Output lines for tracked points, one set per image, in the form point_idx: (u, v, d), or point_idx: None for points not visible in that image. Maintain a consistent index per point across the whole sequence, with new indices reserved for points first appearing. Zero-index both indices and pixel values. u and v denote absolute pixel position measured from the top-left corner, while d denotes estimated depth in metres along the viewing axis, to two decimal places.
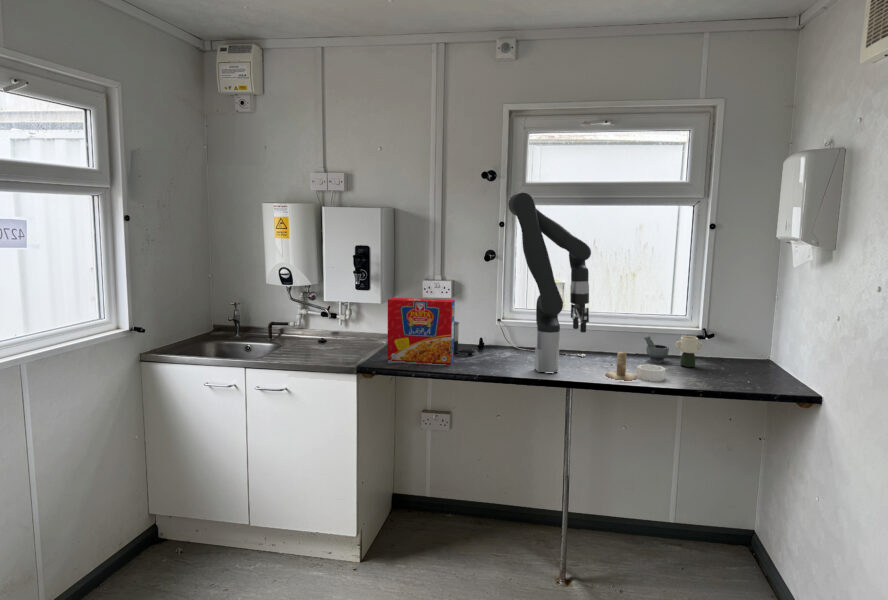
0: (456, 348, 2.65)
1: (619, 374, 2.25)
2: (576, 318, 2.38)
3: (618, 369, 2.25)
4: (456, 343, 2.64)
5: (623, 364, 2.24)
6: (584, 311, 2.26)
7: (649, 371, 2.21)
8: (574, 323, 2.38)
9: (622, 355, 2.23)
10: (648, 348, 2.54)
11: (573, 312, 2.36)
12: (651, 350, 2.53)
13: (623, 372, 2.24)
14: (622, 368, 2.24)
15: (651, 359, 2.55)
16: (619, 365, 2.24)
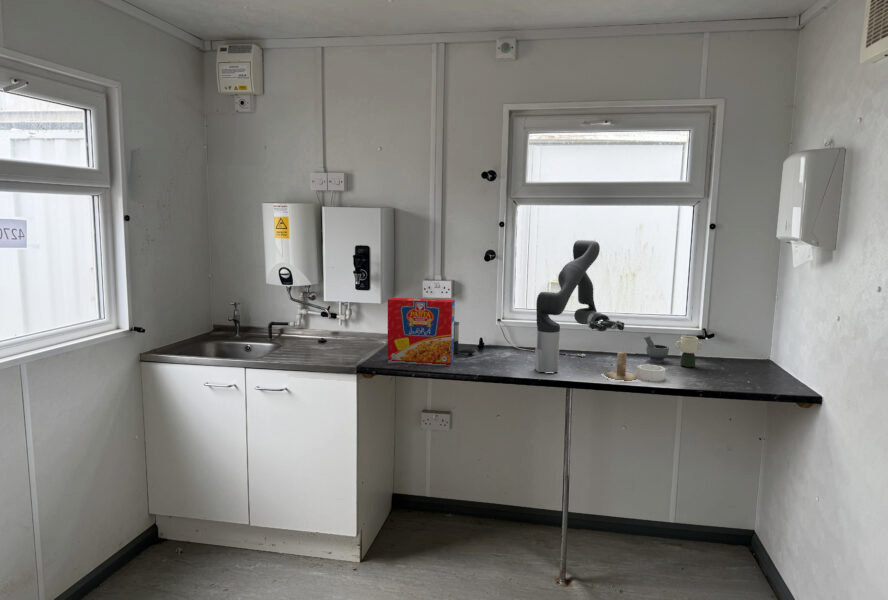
0: (456, 348, 2.65)
1: (619, 374, 2.24)
2: None
3: (618, 369, 2.25)
4: (456, 343, 2.64)
5: (623, 364, 2.24)
6: None
7: (649, 371, 2.21)
8: None
9: (622, 355, 2.23)
10: (648, 348, 2.54)
11: (600, 321, 2.42)
12: (651, 350, 2.53)
13: (623, 372, 2.24)
14: (622, 368, 2.24)
15: (651, 359, 2.55)
16: (619, 365, 2.24)
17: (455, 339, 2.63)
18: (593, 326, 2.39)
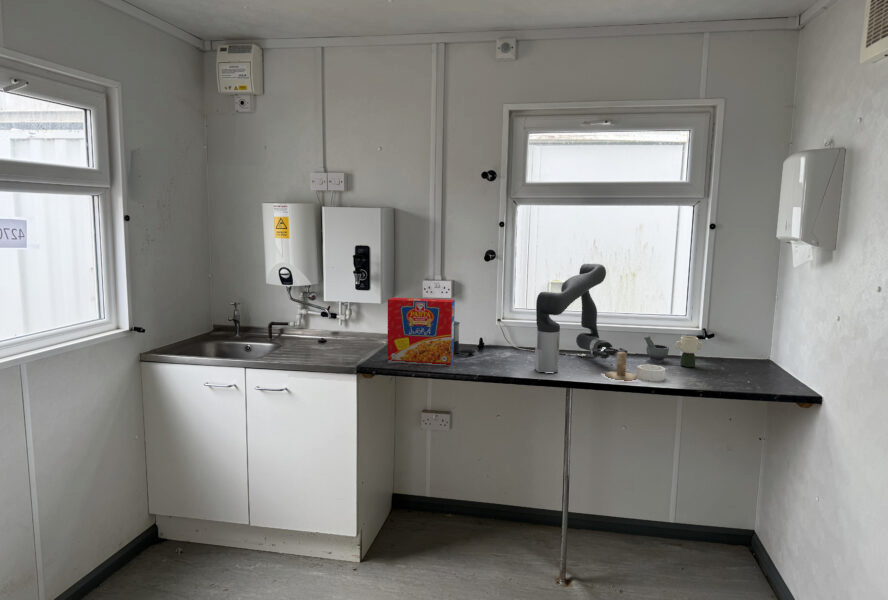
0: (457, 348, 2.65)
1: (619, 374, 2.25)
2: None
3: (618, 369, 2.25)
4: (457, 343, 2.64)
5: (623, 364, 2.24)
6: None
7: (649, 371, 2.21)
8: None
9: (622, 355, 2.23)
10: (648, 348, 2.54)
11: (603, 348, 2.38)
12: (651, 350, 2.53)
13: (623, 372, 2.24)
14: (622, 368, 2.24)
15: (651, 359, 2.55)
16: (619, 365, 2.24)
17: (455, 339, 2.63)
18: (596, 354, 2.35)
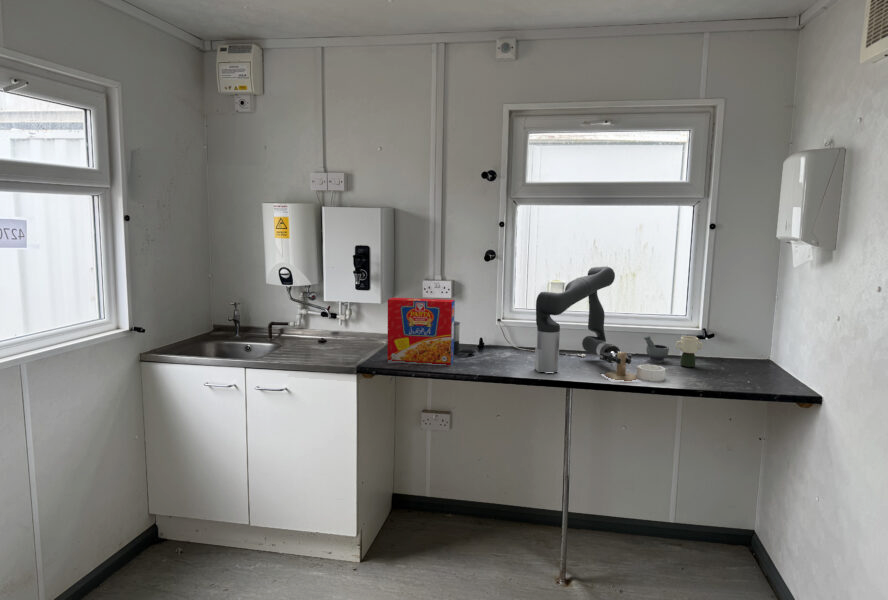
0: (457, 348, 2.65)
1: (619, 374, 2.25)
2: None
3: (618, 369, 2.25)
4: (457, 343, 2.64)
5: (623, 364, 2.24)
6: None
7: (649, 371, 2.21)
8: None
9: (622, 355, 2.23)
10: (648, 348, 2.54)
11: (612, 353, 2.30)
12: (651, 350, 2.53)
13: (623, 372, 2.24)
14: (622, 368, 2.24)
15: (651, 359, 2.55)
16: (619, 365, 2.24)
17: (456, 339, 2.63)
18: (609, 359, 2.26)
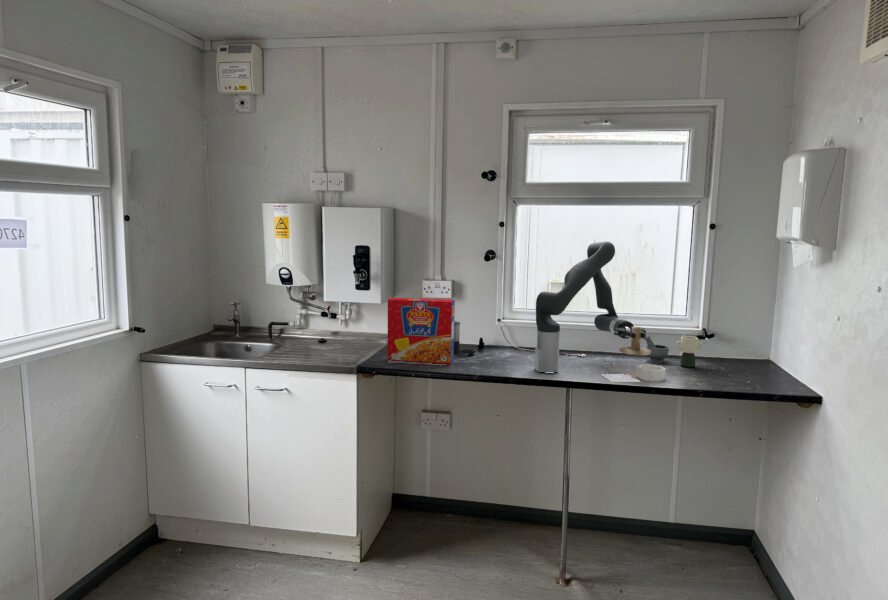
0: (457, 348, 2.65)
1: (634, 349, 2.24)
2: None
3: (633, 344, 2.24)
4: (457, 343, 2.64)
5: (638, 339, 2.23)
6: None
7: (649, 371, 2.21)
8: None
9: (637, 329, 2.22)
10: (648, 348, 2.54)
11: (627, 328, 2.29)
12: (651, 350, 2.53)
13: (638, 347, 2.23)
14: (637, 343, 2.23)
15: (651, 359, 2.55)
16: (634, 340, 2.23)
17: (456, 339, 2.63)
18: (624, 334, 2.25)
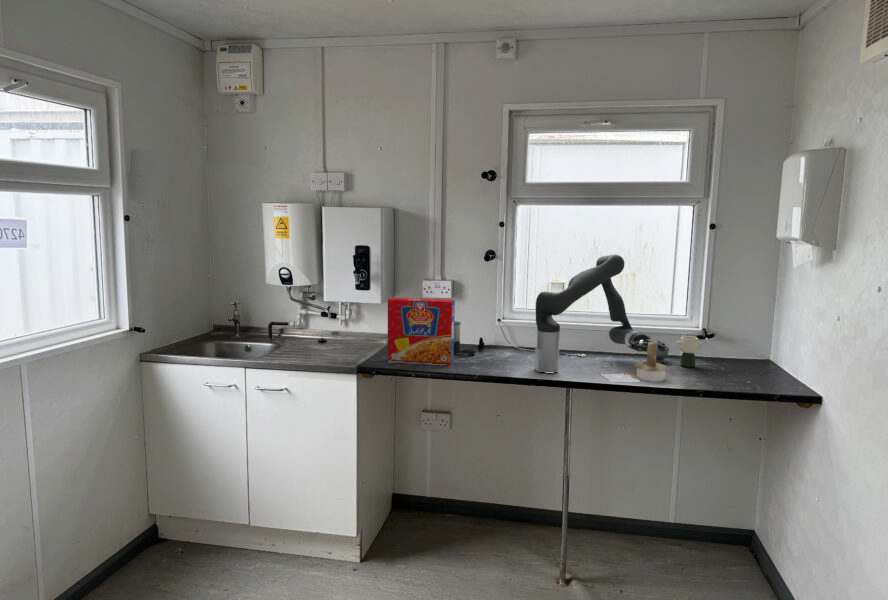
0: (458, 348, 2.65)
1: (649, 364, 2.24)
2: None
3: (648, 359, 2.24)
4: (458, 343, 2.64)
5: (654, 355, 2.23)
6: None
7: (649, 371, 2.21)
8: None
9: (653, 345, 2.23)
10: None
11: (641, 341, 2.29)
12: None
13: (653, 362, 2.24)
14: (653, 358, 2.24)
15: None
16: (649, 355, 2.24)
17: (456, 339, 2.63)
18: (635, 347, 2.26)
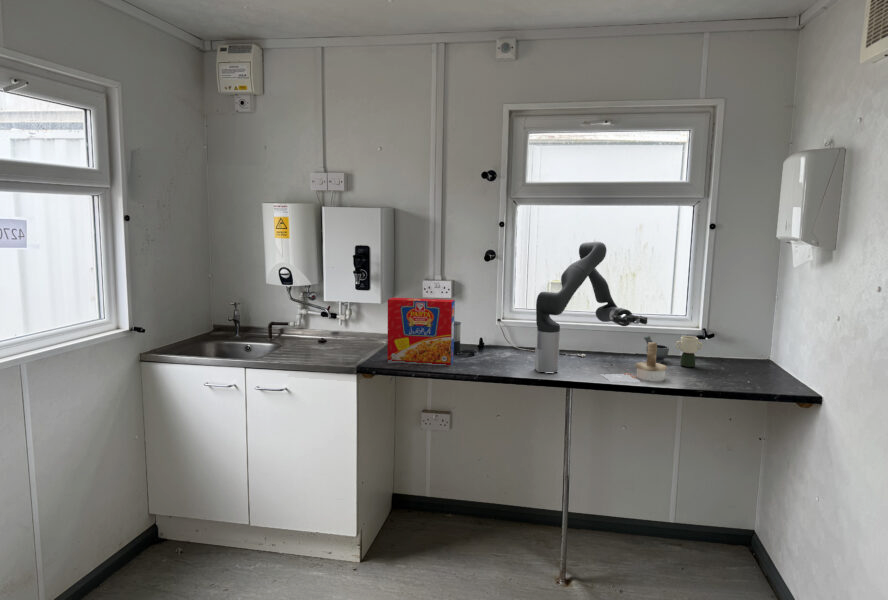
0: (458, 348, 2.65)
1: (649, 364, 2.24)
2: None
3: (648, 359, 2.24)
4: (458, 343, 2.64)
5: (654, 355, 2.23)
6: None
7: (649, 371, 2.21)
8: None
9: (653, 345, 2.23)
10: None
11: (623, 315, 2.43)
12: None
13: (653, 362, 2.24)
14: (653, 358, 2.24)
15: None
16: (649, 355, 2.24)
17: (457, 339, 2.63)
18: (616, 320, 2.40)
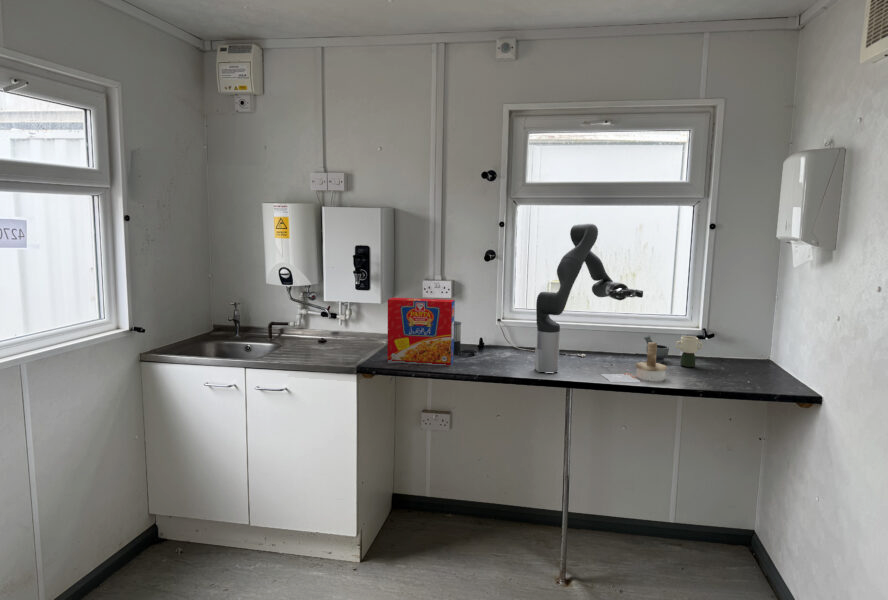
0: (458, 348, 2.65)
1: (649, 364, 2.24)
2: None
3: (648, 359, 2.24)
4: (458, 343, 2.64)
5: (654, 355, 2.23)
6: None
7: (649, 371, 2.21)
8: None
9: (653, 345, 2.23)
10: None
11: (619, 289, 2.44)
12: None
13: (653, 362, 2.24)
14: (653, 358, 2.24)
15: None
16: (649, 355, 2.24)
17: (457, 339, 2.63)
18: (612, 293, 2.41)
